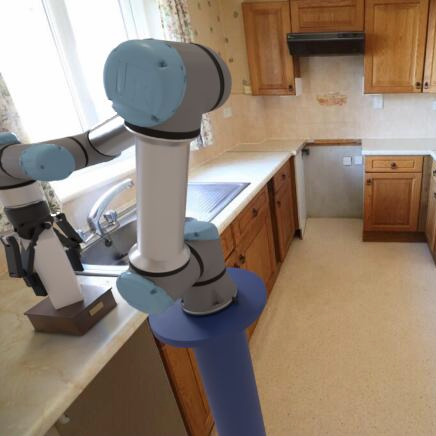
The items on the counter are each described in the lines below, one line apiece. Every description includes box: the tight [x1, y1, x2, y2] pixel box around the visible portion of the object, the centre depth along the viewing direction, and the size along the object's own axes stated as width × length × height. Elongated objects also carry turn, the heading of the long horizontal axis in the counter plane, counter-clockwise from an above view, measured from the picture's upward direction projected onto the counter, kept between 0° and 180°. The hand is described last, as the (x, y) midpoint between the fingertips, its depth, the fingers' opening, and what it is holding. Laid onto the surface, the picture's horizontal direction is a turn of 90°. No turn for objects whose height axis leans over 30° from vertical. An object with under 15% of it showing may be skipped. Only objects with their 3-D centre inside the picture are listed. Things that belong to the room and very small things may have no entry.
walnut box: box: [23, 283, 118, 337], centre depth 87 cm, size 15×13×6 cm
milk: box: [20, 222, 84, 310], centre depth 81 cm, size 6×6×22 cm
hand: (61, 282), depth 83 cm, fingers open, 10 cm apart
